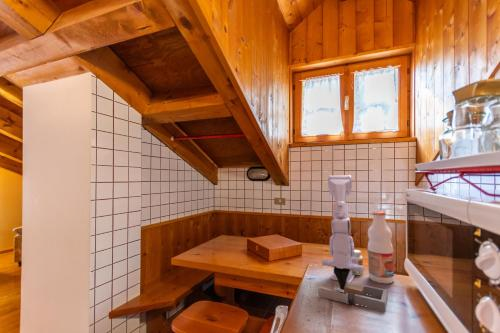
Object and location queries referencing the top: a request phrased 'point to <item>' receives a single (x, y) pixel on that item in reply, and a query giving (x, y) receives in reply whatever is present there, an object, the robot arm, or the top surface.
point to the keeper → (336, 295)
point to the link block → (354, 289)
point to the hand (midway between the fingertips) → (342, 288)
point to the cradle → (373, 302)
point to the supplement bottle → (357, 261)
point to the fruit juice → (380, 250)
